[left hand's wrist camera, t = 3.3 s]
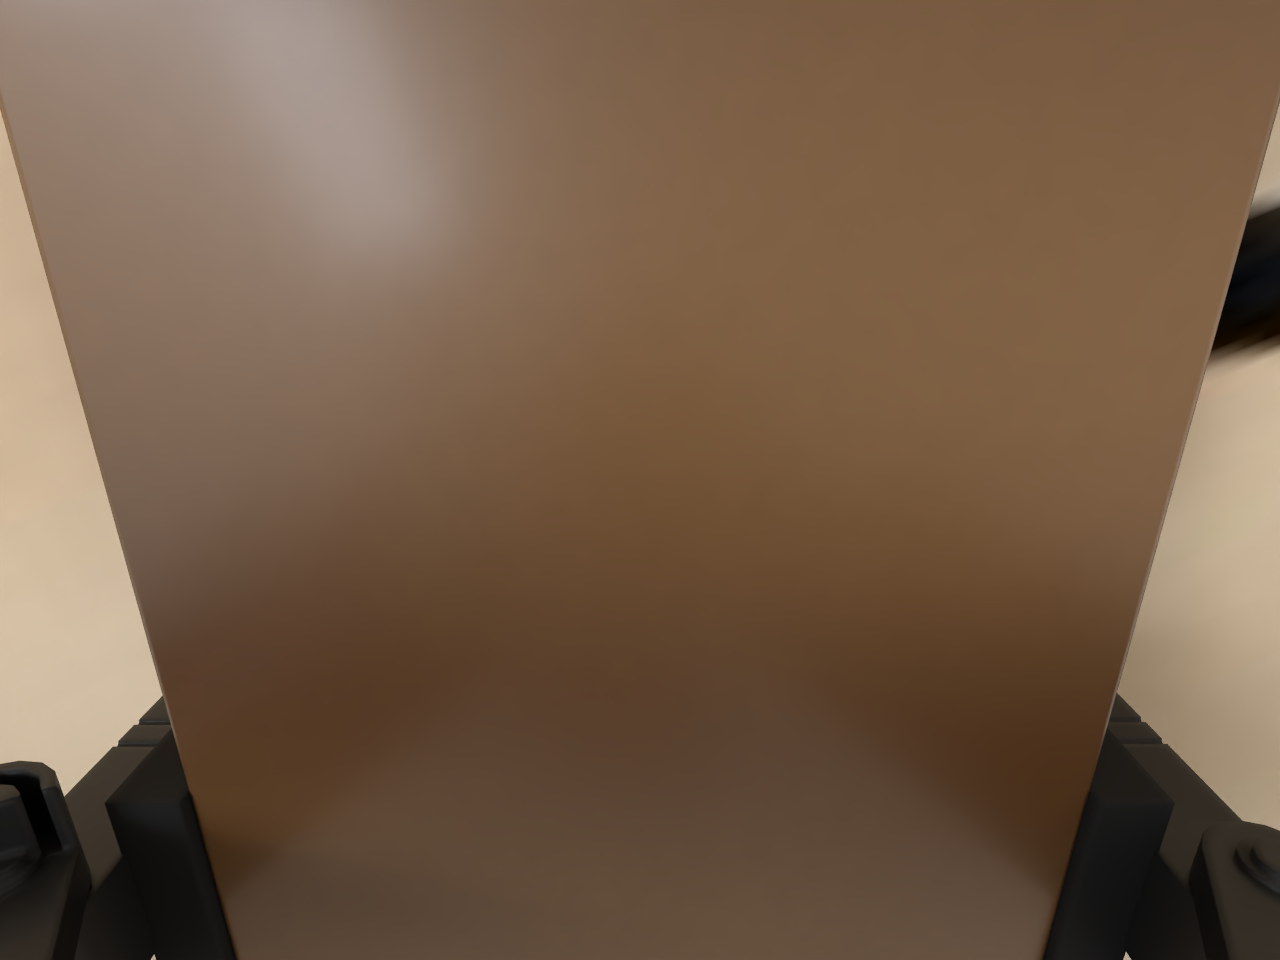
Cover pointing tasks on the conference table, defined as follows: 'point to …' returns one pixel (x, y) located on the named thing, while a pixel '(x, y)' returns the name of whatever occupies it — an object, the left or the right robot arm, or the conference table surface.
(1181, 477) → the conference table surface
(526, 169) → the brown wooden beam
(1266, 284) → the conference table surface
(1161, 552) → the conference table surface
